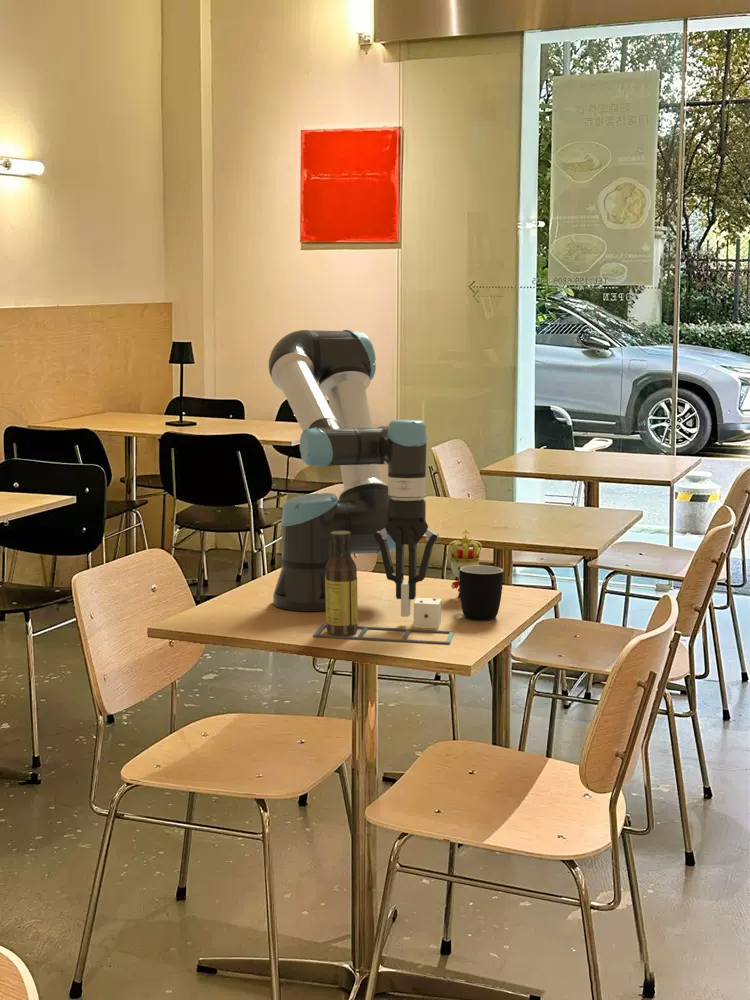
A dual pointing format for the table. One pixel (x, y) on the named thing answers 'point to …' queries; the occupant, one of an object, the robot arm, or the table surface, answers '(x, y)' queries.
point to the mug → (480, 591)
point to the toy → (463, 556)
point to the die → (427, 613)
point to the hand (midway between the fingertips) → (405, 615)
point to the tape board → (404, 638)
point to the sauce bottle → (341, 587)
